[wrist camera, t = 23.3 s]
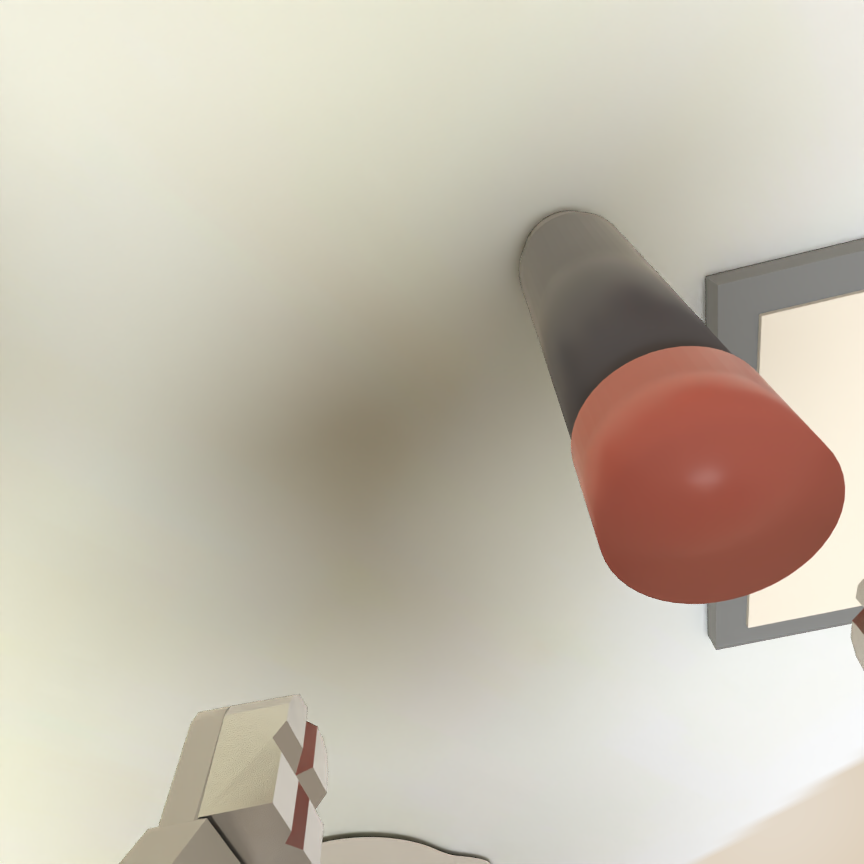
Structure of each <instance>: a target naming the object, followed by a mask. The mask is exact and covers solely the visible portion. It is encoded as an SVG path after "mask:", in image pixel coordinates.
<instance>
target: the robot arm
mask: <svg viewBox="0 0 864 864" xmlns="http://www.w3.org/2000/svg"><path fill="white" fill-rule="evenodd" d="M856 599H857V600H858V601H859V603H860V604H861V605H862V606H863V607H864V579H863V580H862V581H861V582H860V583H859V584H858V587H857V593H856ZM851 640H852V644H853V647H854V651H855V654H856V657H857V659H858V661H859V663H860V664H861V666H862V668H863V670H864V608H863V609H862V611H861V612H860V613H859V614H858V615H857V616H856V617H855V618H854V619H853V620H852V627H851ZM307 711H308V707H307V706H306V704H305V702H304V700H303V699H302V697H301V695H300V694H298V695H290V696H285V697H279V698H273V699H267V700H262V701H256V702H250V703H244V704H239V705H233V706H228V707H223V708H218V709H212V710H207V711H202V712H199V713H198V714H197V715H196V717H195V718H194V719H193V721H192V722H191V724H190V727H189V730H188V734H187V737H186V740H185V743H184V746H183V749H182V753H181V756H180V759H179V762H178V765H177V768H176V772H175V775H174V778H173V781H172V784H171V787H170V791H169V794H168V797H167V800H166V803H165V806H164V810H163V813H162V816H161V819H160V822H159V826H158V827H155V828H150V829H148V830H147V831H146V832H145V833H144V834H143V836H142V837H141V838H140V839H139V840H138V842H137V843H136V844H135V845H134V846H133V848H132V849H131V850H130V851H129V852H128V853H127V855H126V856H125V857H124V858H123V859H122V861H121V862H120V863H119V864H490V863H489V862H488V861H486V860H483V859H478V858H472V857H464V856H455V855H450V854H447V853H444V852H441V851H439V850H436V849H434V848H431V847H429V846H426V845H423V844H419V843H416V842H411V841H407V840H401V839H394V838H382V837H358V838H346V839H338V840H332V841H327V842H322V838H323V828H324V824H323V822H322V820H321V819H320V817H319V815H318V813H317V811H316V810H315V809H316V808H317V806H318V805H319V803H320V802H321V800H322V799H323V797H324V796H325V794H326V793H327V783H328V763H327V751H326V747H325V744H324V740H323V737H322V735H321V733H320V731H319V729H318V727H317V726H315V725H313V724H311V723H309V722H307V721H306V719H307Z"/></svg>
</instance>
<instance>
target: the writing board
mask: <svg viewBox="0 0 864 864" xmlns="http://www.w3.org/2000/svg"><path fill="white" fill-rule="evenodd" d="M706 326H707V327H708V328H709V329H710V330H711V332H712V333H713V334H714V335H715V336H716V337H717V338H718V339H719V340H720V341H721V342H722V344H723V345H724V346H725V347H726V348H727V349H728V350H729V351H730V352H731V353H732V354H733V355H735V356H737V357H738V358H740V359H742V360H744V361H745V362H746V363H748V364H749V365H750V366H751V367H753V368H754V369H755V370H756V371H757V373H758V374H759V375H760V376H761V377H762V378H763V379H764V380H765V381H766V382H767V383H768V384H769V385H770V386H771V387H772V388H773V389H774V391H775V392H776V393H777V394H778V395H779V396H780V397H781V398H782V399H783V400H784V401H785V402H786V403H787V404H788V405H789V406H790V407H791V409H792V410H793V411H794V412H795V413H796V414H797V415H798V416H799V417H800V418H801V419H802V420H803V421H804V422H805V423H806V424H807V425H808V426H809V428H810V429H811V430H812V431H813V432H814V433H815V434H816V435H817V436H818V437H819V438H820V439H821V440H822V441H823V442H824V443H825V445H826V446H827V447H828V448H829V449H830V450H831V451H832V452H833V454H834V455H835V457H836V459H837V460H838V462H839V464H840V466H841V469H842V472H843V475H844V482H845V500H844V505H843V509H842V513H841V515H840V518H839V520H838V523H837V525H836V527H835V529H834V530H833V532H832V534H831V536H830V537H829V538H828V540H827V541H826V542H825V544H824V545H823V546H822V547H821V549H820V550H819V551H818V552H817V553H816V554H815V555H814V556H813V557H812V558H811V559H810V560H809V561H807V562H806V563H805V564H804V565H803V566H802V567H800V568H799V569H797V570H796V571H795V572H793V573H792V574H790V575H789V576H787V577H786V578H784V579H782V580H780V581H779V582H777V583H775V584H773V585H771V586H769V587H767V588H765V589H762V590H760V591H757V592H755V593H752V594H749V595H746V596H743V597H739V598H736V599H732V600H726V601H721V602H714V603H708V636H709V638H710V639H711V641H712V643H713V645H714V647H715V649H716V650H719V649H724V648H729V647H734V646H739V645H744V644H749V643H754V642H760V641H765V640H770V639H775V638H780V637H785V636H790V635H795V634H801V633H806V632H811V631H816V630H821V629H826V628H831V627H837V626H842V625H847V624H852V620H853V619H854V618H855V617H856V616H857V615H858V614H859V613H860V612H861V611H862V609H863V608H864V607H863V606H862V605H861V604H860V603H859V601H858V600H857V599H856V593H857V587H858V584H859V583H860V582H861V581H862V580H863V579H864V238H863V239H859V240H855V241H851V242H847V243H843V244H839V245H834V246H830V247H826V248H822V249H818V250H814V251H809V252H805V253H801V254H797V255H793V256H789V257H785V258H780V259H776V260H772V261H768V262H764V263H760V264H756V265H751V266H747V267H743V268H739V269H735V270H731V271H727V272H722V273H718V274H714V275H710V276H706Z"/></svg>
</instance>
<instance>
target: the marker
mask: <svg viewBox="0 0 864 864" xmlns="http://www.w3.org/2000/svg"><path fill="white" fill-rule="evenodd" d="M519 278H520V283H521V287H522V290H523V293H524V296H525V299H526V302H527V305H528V308H529V311H530V314H531V318H532V321H533V324H534V327H535V330H536V333H537V336H538V339H539V342H540V345H541V348H542V351H543V354H544V358H545V361H546V364H547V367H548V370H549V373H550V376H551V379H552V382H553V385H554V388H555V391H556V394H557V398H558V401H559V404H560V407H561V410H562V413H563V416H564V419H565V422H566V425H567V428H568V431H569V435H570V438H571V454H572V459H573V463H574V467H575V470H576V473H577V476H578V479H579V483H580V486H581V489H582V492H583V495H584V499H585V502H586V505H587V508H588V511H589V515H590V518H591V521H592V524H593V527H594V531H595V534H596V537H597V540H598V543H599V547H600V550H601V553H602V555H603V557H604V560H605V562H606V563H607V565H608V566H609V568H610V570H611V571H612V572H613V573H614V574H615V575H616V576H617V577H618V579H620V580H621V581H622V582H623V583H625V584H626V585H627V586H629V587H630V588H632V589H634V590H636V591H637V592H639V593H642V594H644V595H646V596H649V597H652V598H655V599H659V600H662V601H668V602H673V603H684V604H705V603H714V602H721V601H726V600H732V599H736V598H739V597H743V596H746V595H749V594H752V593H755V592H757V591H760V590H762V589H765V588H767V587H769V586H771V585H773V584H775V583H777V582H779V581H780V580H782V579H784V578H786V577H787V576H789V575H790V574H792V573H793V572H795V571H796V570H797V569H799V568H800V567H802V566H803V565H804V564H805V563H806V562H807V561H809V560H810V559H811V558H812V557H813V556H814V555H815V554H816V553H817V552H818V551H819V550H820V549H821V547H822V546H823V545H824V544H825V542H826V541H827V540H828V538H829V537H830V536H831V534H832V532H833V530H834V529H835V527H836V525H837V523H838V520H839V518H840V515H841V513H842V509H843V505H844V500H845V482H844V475H843V472H842V469H841V466H840V464H839V462H838V460H837V459H836V457H835V455H834V454H833V452H832V451H831V450H830V449H829V448H828V447H827V446H826V445H825V443H824V442H823V441H822V440H821V439H820V438H819V437H818V436H817V435H816V434H815V433H814V432H813V431H812V430H811V429H810V428H809V426H808V425H807V424H806V423H805V422H804V421H803V420H802V419H801V418H800V417H799V416H798V415H797V414H796V413H795V412H794V411H793V410H792V409H791V407H790V406H789V405H788V404H787V403H786V402H785V401H784V400H783V399H782V398H781V397H780V396H779V395H778V394H777V393H776V392H775V391H774V389H773V388H772V387H771V386H770V385H769V384H768V383H767V382H766V381H765V380H764V379H763V378H762V377H761V376H760V375H759V374H758V373H757V371H756V370H755V369H754V368H753V367H751V366H750V365H749V364H748V363H746V362H745V361H744V360H742V359H740V358H738V357H737V356H735V355H733V354H732V353H731V352H730V351H729V350H728V349H727V348H726V347H725V346H724V345H723V344H722V342H721V341H720V340H719V339H718V338H717V337H716V336H715V335H714V334H713V333H712V332H711V330H710V329H709V328H708V327H707V326H706V325H705V324H704V323H703V322H702V321H701V320H700V319H699V317H698V316H697V315H696V314H695V313H694V312H693V311H692V310H691V309H690V308H689V307H688V305H687V304H686V303H685V302H684V301H683V300H682V299H681V298H680V297H679V296H678V295H677V294H676V292H675V291H674V290H673V289H672V288H671V287H670V286H669V285H668V284H667V283H666V282H665V280H664V279H663V278H662V277H661V276H660V275H659V274H658V273H657V272H656V271H655V270H654V269H653V267H652V266H651V265H650V264H649V263H648V262H647V261H646V260H645V259H644V258H643V257H642V256H641V254H640V253H639V252H638V251H637V250H636V249H635V248H634V247H633V246H632V245H631V244H630V242H629V241H628V240H627V239H626V238H625V237H624V236H623V235H622V234H621V233H620V232H619V231H618V229H617V228H616V227H615V226H614V225H613V224H612V223H610V222H609V221H608V220H606V219H604V218H603V217H601V216H598V215H596V214H592V213H586V212H578V211H562V212H558V213H555V214H552V215H550V216H548V217H547V218H545V219H543V220H542V221H541V222H540V223H538V224H537V225H536V226H535V228H534V229H533V230H532V231H531V233H530V235H529V236H528V238H527V241H526V243H525V246H524V250H523V252H522V255H521V259H520V264H519Z"/></svg>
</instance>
